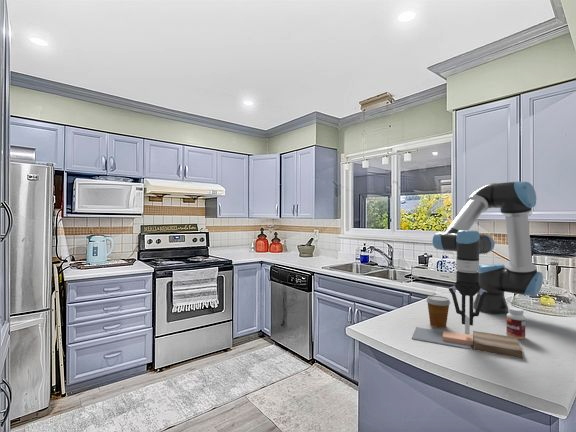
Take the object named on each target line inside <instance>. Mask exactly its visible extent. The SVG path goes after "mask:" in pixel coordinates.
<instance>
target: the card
mask: <svg viewBox="0 0 576 432" xmlns="http://www.w3.org/2000/svg"><path fill="white" fill-rule="evenodd" d="M442 331H443V341H449V342H455V343H461V344H467V345H471V346H474V342H473V334H470V335H468V334H465V333H460V332H455V331H448V330H442Z"/></svg>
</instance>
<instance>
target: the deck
mask: <svg viewBox="0 0 576 432" xmlns="http://www.w3.org/2000/svg"><path fill="white" fill-rule="evenodd" d="M472 338H473V350H474V351H478V352H483V353H489V354H495V355H499V356H505V357H510V358H517V359H523V349H522V346H521V345H520V343H519V341H518V340H519V339H517V338H516V337H511V336H508V335H503V334H496V333H490V332H489V333H488V332H483V331H476V330H473V331H472Z"/></svg>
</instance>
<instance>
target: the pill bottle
mask: <svg viewBox="0 0 576 432" xmlns="http://www.w3.org/2000/svg"><path fill="white" fill-rule="evenodd" d="M526 321H527V320H526V316H525V315H524V310H523V308H520V307H508V313H506V328H505V329H506V331H505V333H506V336H511V337H516V338H517V340H523V339H525V338H526Z"/></svg>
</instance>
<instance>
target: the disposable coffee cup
mask: <svg viewBox="0 0 576 432" xmlns="http://www.w3.org/2000/svg"><path fill="white" fill-rule="evenodd" d="M426 298H427V299H426V303H427V309H428V317H429V325H430V326H432V327H434V328H440V329H444V328H446V327H447V323H448V316H449V309H450V304H451V301H450V298H448V297H446V296H441V295H428V296H427V297H426Z"/></svg>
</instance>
